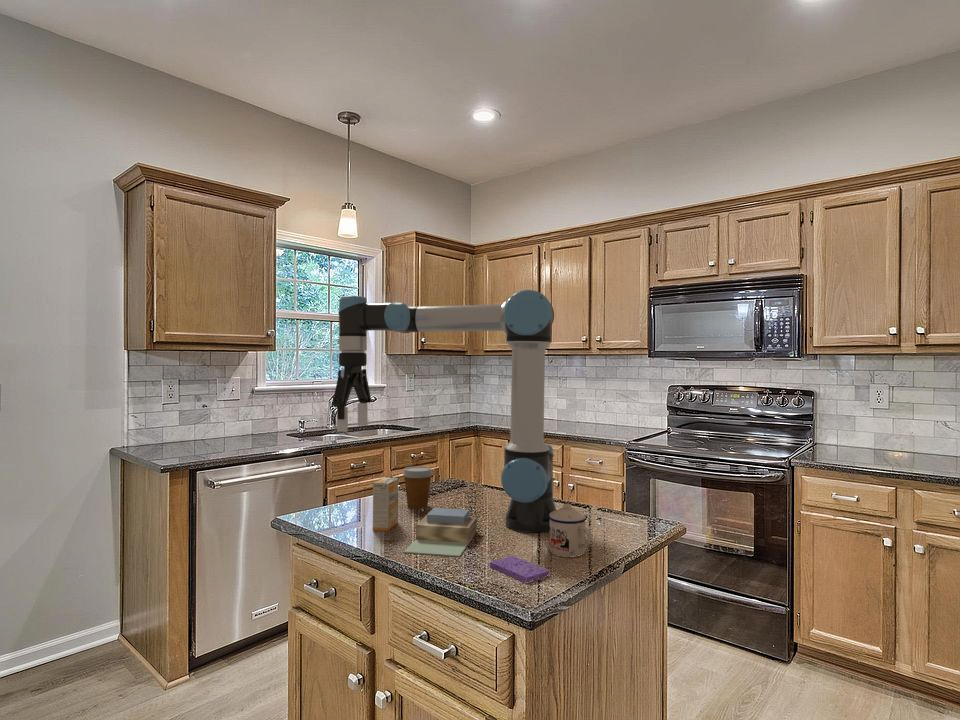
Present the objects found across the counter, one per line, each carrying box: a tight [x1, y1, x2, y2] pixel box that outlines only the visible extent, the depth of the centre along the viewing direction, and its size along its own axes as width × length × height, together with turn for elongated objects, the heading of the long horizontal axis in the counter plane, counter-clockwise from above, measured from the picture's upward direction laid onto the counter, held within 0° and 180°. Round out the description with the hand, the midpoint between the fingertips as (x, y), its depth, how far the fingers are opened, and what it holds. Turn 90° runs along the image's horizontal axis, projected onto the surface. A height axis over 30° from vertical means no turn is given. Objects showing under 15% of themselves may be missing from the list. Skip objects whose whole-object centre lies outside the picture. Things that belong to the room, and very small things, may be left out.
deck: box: [415, 514, 478, 544], centre depth 153 cm, size 14×10×4 cm
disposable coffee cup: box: [402, 465, 433, 510], centre depth 184 cm, size 10×10×12 cm
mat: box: [403, 538, 470, 558], centre depth 143 cm, size 14×10×1 cm
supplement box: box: [372, 477, 399, 532], centre depth 162 cm, size 8×5×13 cm, turn 168°
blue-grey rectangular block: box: [426, 507, 471, 524], centre depth 154 cm, size 10×7×2 cm
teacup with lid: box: [549, 503, 593, 558], centre depth 140 cm, size 12×9×12 cm
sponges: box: [489, 554, 550, 584], centre depth 128 cm, size 7×13×2 cm, turn 37°
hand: (352, 428), depth 160 cm, fingers open, 13 cm apart
